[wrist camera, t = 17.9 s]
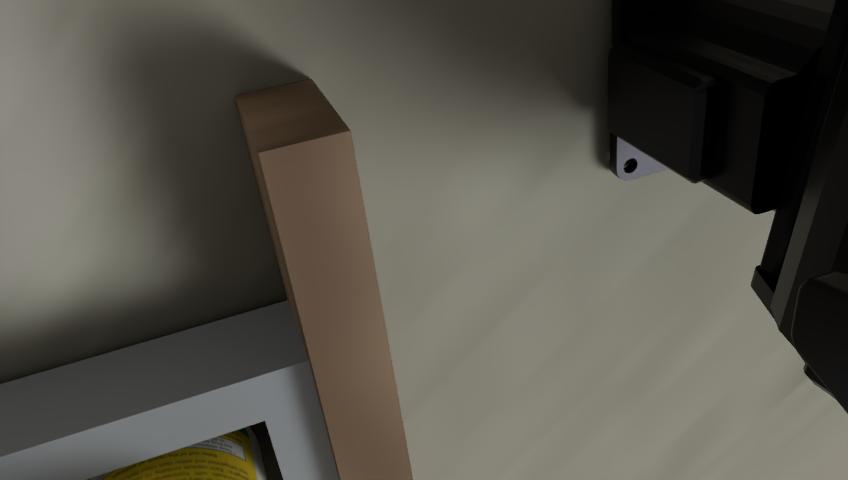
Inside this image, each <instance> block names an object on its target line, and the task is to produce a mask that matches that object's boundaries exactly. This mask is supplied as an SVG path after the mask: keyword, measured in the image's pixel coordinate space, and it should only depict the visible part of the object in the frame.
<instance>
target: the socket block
mask: <svg viewBox="0 0 848 480" xmlns="http://www.w3.org/2000/svg"><path fill="white" fill-rule="evenodd" d="M263 421H265V422H266V425H267V429H268V432H269V435H270V438H271V442H272V445H273V448H274V451H275V454H276V458H277V461H278V464H279V467H280V470H281V474H282V477H283V480H339V477H338V473H337V469H336V465H335V461H334V457H333V453H332V450H331V446H330V442H329V438H328V434H327V430H326V426H325V422H324V418H323V414H322V410H321V406H320V402H319V398H318V395H317V391H316V387H315V383H314V379H313V375H312V371H311V367H310V363H309V359H308V357H307V354H306V351H305V348H304V345H303V342H302V339H301V337H300V334H299V331H298V328H297V325H296V322H295V319H294V317H293V314H292V311H291V308H290V305H289V302H288V300H287V301H283V302H280V303H276V304H273V305H270V306H266V307H263V308H259V309H256V310H252V311H249V312H246V313H242V314H239V315H235V316H232V317H228V318H225V319H222V320H218V321H215V322H211V323H208V324H204V325H201V326H198V327H194V328H191V329H187V330H184V331H180V332H177V333H174V334H170V335H167V336H163V337H160V338H157V339H153V340H150V341H146V342H143V343H139V344H136V345H133V346H129V347H126V348H122V349H119V350H115V351H112V352H109V353H105V354H102V355H98V356H95V357H91V358H88V359H85V360H81V361H78V362H74V363H71V364H68V365H64V366H61V367H57V368H54V369H50V370H47V371H44V372H40V373H37V374H33V375H30V376H26V377H23V378H20V379H16V380H13V381H9V382H6V383H2V384H0V480H86V479H89V478H92V477H95V476H98V475H101V474H104V473H107V472H110V471H114V470H117V469H120V468H123V467H126V466H129V465H132V464H135V463H138V462H141V461H144V460H147V459H150V458H153V457H156V456H159V455H162V454H165V453H168V452H171V451H174V450H177V449H181V448H184V447H187V446H190V445H193V444H196V443H199V442H202V441H205V440H208V439H211V438H214V437H217V436H220V435H223V434H226V433H229V432H232V431H235V430H238V429H241V428H245V427H248V426H251V425H254V424H257V423H260V422H263Z"/></svg>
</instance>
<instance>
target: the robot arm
mask: <svg viewBox="0 0 848 480" xmlns="http://www.w3.org/2000/svg"><path fill="white" fill-rule="evenodd" d="M608 130H609V131H610V169H611V171H612V172H613V174H615V175H616V176H617V177H619V178H620V179H622V180H632V179H636V178H639V177H643V176H646V175H650V174H653V173H657V172H660V171H664V170H667V169H670V170H672V171H674V172H675V173H677V174H678V175H680V176H682V177H683V178H685V179H687V180H688V181H690V182H691V183H699V182H703V183H704V184H706V185H708V186H709V187H711V188H712V189H714V190H716V191H717V192H719V193H721V194H722V195H724V196H726V197H727V198H729V199H731V200H732V201H734V202H736V203H737V204H739V205H740V206H742V207H744V208H745V209H747V210H749V211H750V212H752V213H754V214H761V213H764V212H767V211H771V210H773V211H775V215H774V219H773V222H772V226H771V230H770V233H769V237H768V240H767V244H766V247H765V251H764V254H763V258H762V261H761V265H759V266H756V268H755V271H754V275H753V278H752V282H751V287H752V288H753V290H754V291H755V293H756V294H757V296H758V297H759V298H760V300H761V301H762V303H763V304H764V305H765V307H766V308H767V310H768V311H769V312H770V314H771V315H772V317H773V318H774V319H775V321H776V324H777V326H778V329H779V331H780V332H781V333H782V334H783V335H784V336H785V337H786V339H787V340H788V341H789V342H790V343H791V344H792V345H793V346H794V348H795V349H796V351H797V352H798V353H799V355H800V356H801V358H802V359H803V360H804V362H805V365H804V368H803V369H804V373H805V374H806V375H807V376H808V378H809V379H810V380H811V381H812V382H813V383H814V384H815V385H816V386H818V387H819V388H821V389H822V390H824V391H825V392H827V393H828V394H830V395H831V396H832V397H834V398H835V399H836V400H837V401H838V402H839V404H840V405H841V406H842V407H843V408H844V410H845V411H846V412H847V413H848V0H612V46H611V49H610V51H609V59H608ZM629 159H631V160H630V163H629V164H628V166H627V167H625V168H623V167H624V164H625V163H626V161H627V160H629Z"/></svg>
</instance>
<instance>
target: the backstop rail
mask: <svg viewBox="0 0 848 480" xmlns="http://www.w3.org/2000/svg"><path fill="white" fill-rule="evenodd" d="M235 100H236V104H237V108H238V112H239V115H240V119H241V123H242V127H243V131H244V135H245V139H246V142H247V146H248V150H249V154H250V158H251V162H252V166H253V169H254V173H255V177H256V181H257V185H258V189H259V192H260V196H261V200H262V204H263V208H264V212H265V216H266V219H267V223H268V227H269V231H270V235H271V239H272V243H273V246H274V250H275V254H276V258H277V262H278V266H279V270H280V273H281V277H282V281H283V285H284V289H285V293H286V297H287V300H288V302H289V305H290V308H291V311H292V314H293V317H294V319H295V322H296V325H297V328H298V331H299V334H300V337H301V339H302V342H303V345H304V348H305V351H306V354H307V357H308V359H309V363H310V367H311V371H312V375H313V379H314V383H315V387H316V391H317V395H318V398H319V402H320V406H321V410H322V414H323V418H324V422H325V426H326V430H327V434H328V438H329V442H330V446H331V450H332V453H333V457H334V461H335V465H336V469H337V473H338V477H339V480H413V477H412V471H411V466H410V460H409V455H408V449H407V444H406V438H405V432H404V427H403V421H402V416H401V410H400V404H399V399H398V393H397V388H396V382H395V377H394V371H393V365H392V360H391V354H390V349H389V343H388V337H387V332H386V326H385V321H384V315H383V309H382V304H381V298H380V293H379V287H378V282H377V276H376V270H375V265H374V259H373V254H372V248H371V242H370V237H369V231H368V226H367V220H366V215H365V209H364V203H363V198H362V192H361V187H360V181H359V175H358V170H357V164H356V159H355V153H354V147H353V142H352V136H351V131H350V129H349V128H348V127H347V125H346V124H345V123H344V121H343V120H342V119H341V117H340V116H339V115H338V113H337V112H336V111H335V109H334V108H333V107H332V106H331V104H330V103H329V102H328V100H327V99H326V98H325V96H324V95H323V94H322V92H321V91H320V90H319V88H318V87H317V86H316V84H315V83H314V82H313V80H312V79H309V80H304V81H300V82H295V83H291V84H287V85H282V86H278V87H273V88H269V89H264V90H260V91H255V92H251V93H246V94H242V95H237V96H235Z"/></svg>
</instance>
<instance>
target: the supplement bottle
mask: <svg viewBox="0 0 848 480" xmlns="http://www.w3.org/2000/svg"><path fill="white" fill-rule="evenodd" d="M86 480H267V476H266V471H265V466H264V462H263V457H262V454H261V450H260V446H259V443H258V440H257V438H256V436H255V434H254V433H253V431H252V429H251V428H250V427H249V426H248V427H245V428H241V429H238V430H235V431H232V432H229V433H226V434H223V435H220V436H217V437H214V438H211V439H208V440H205V441H202V442H199V443H196V444H193V445H190V446H187V447H184V448H181V449H177V450H174V451H171V452H168V453H165V454H162V455H159V456H156V457H153V458H150V459H147V460H144V461H141V462H138V463H135V464H132V465H129V466H126V467H123V468H120V469H117V470H114V471H110V472H107V473H104V474H101V475H98V476H95V477H92V478H89V479H86Z"/></svg>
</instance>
